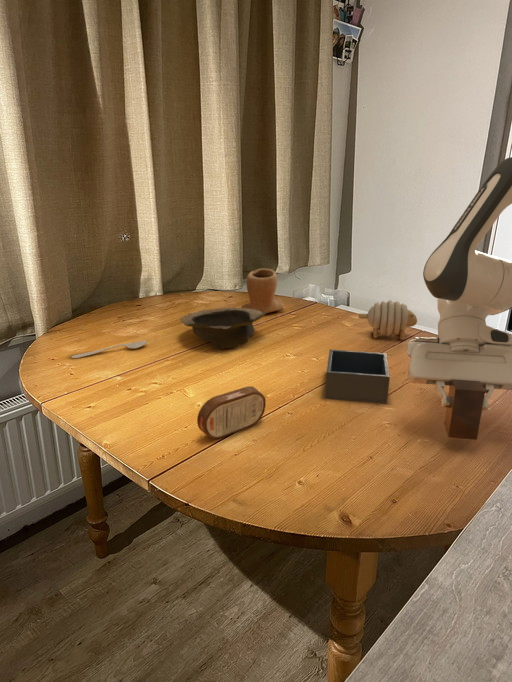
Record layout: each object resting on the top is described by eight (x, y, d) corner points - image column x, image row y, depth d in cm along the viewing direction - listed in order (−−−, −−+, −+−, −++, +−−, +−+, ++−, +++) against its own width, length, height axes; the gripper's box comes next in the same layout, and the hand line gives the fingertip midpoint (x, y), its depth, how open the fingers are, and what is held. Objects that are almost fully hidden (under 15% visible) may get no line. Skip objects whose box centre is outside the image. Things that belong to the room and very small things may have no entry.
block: (471, 426, 96) (479, 379, 93) (476, 440, 92) (485, 391, 88) (444, 423, 97) (450, 377, 93) (448, 437, 93) (455, 389, 89)
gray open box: (383, 377, 123) (386, 353, 121) (386, 403, 111) (389, 376, 108) (328, 373, 125) (329, 349, 123) (325, 398, 113) (326, 372, 111)
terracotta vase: (252, 320, 164) (252, 275, 158) (237, 310, 174) (236, 268, 168) (292, 314, 170) (293, 270, 165) (275, 304, 180) (276, 263, 175)
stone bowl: (243, 359, 133) (240, 326, 130) (166, 351, 143) (161, 320, 140) (279, 329, 154) (277, 300, 151) (208, 324, 164) (205, 296, 161)
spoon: (149, 348, 141) (148, 343, 140) (72, 360, 133) (71, 354, 132) (145, 343, 144) (145, 338, 144) (70, 355, 137) (70, 349, 136)
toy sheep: (418, 343, 144) (422, 307, 140) (359, 341, 146) (362, 305, 142) (411, 331, 154) (415, 296, 150) (356, 329, 156) (358, 295, 152)
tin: (259, 416, 106) (259, 380, 102) (268, 422, 103) (268, 385, 100) (197, 439, 97) (195, 400, 94) (205, 446, 95) (203, 407, 92)
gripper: (409, 329, 96) (408, 398, 91) (523, 335, 93) (530, 407, 87) (404, 343, 102) (404, 408, 97) (512, 349, 98) (518, 417, 93)
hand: (464, 408), depth 92 cm, fingers closed on block, 5 cm apart
